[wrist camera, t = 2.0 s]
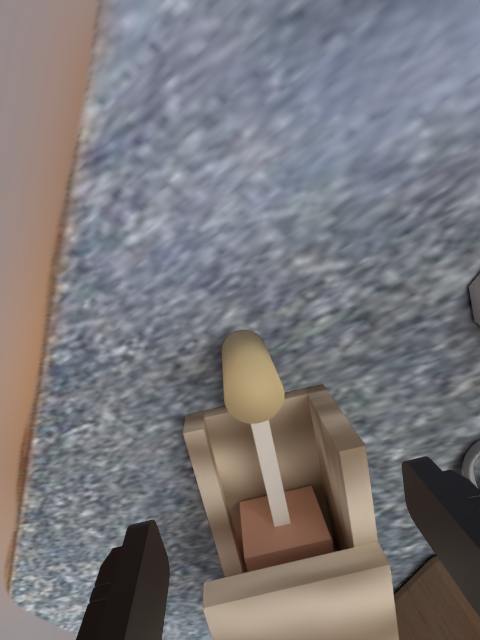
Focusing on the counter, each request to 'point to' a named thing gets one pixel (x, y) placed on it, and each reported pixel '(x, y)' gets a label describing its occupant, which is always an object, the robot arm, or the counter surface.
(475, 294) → the flask
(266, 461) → the pull block
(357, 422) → the counter surface
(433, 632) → the wooden block
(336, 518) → the shelf
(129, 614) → the robot arm
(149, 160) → the counter surface
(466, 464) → the ceramic mug
